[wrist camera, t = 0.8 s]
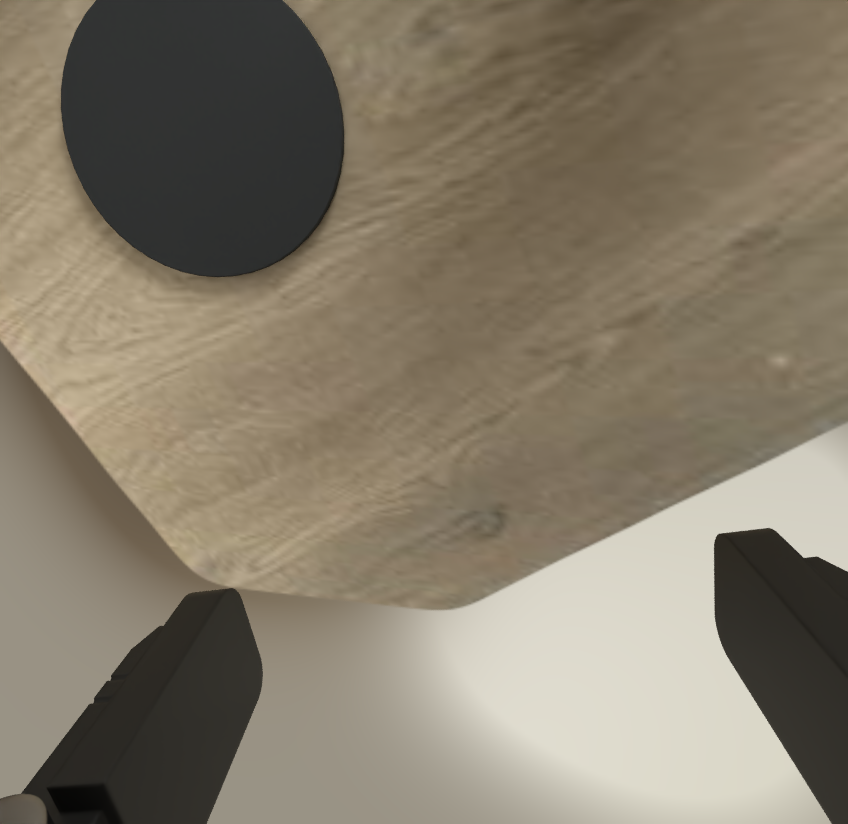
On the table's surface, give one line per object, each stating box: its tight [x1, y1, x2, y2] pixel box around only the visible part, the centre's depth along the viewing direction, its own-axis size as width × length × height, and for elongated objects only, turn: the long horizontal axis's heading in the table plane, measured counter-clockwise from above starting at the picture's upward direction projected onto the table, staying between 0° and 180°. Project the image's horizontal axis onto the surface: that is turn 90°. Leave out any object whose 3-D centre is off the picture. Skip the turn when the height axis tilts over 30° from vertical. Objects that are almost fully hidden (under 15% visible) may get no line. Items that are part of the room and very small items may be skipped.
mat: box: [61, 0, 344, 277], centre depth 31 cm, size 16×16×1 cm
